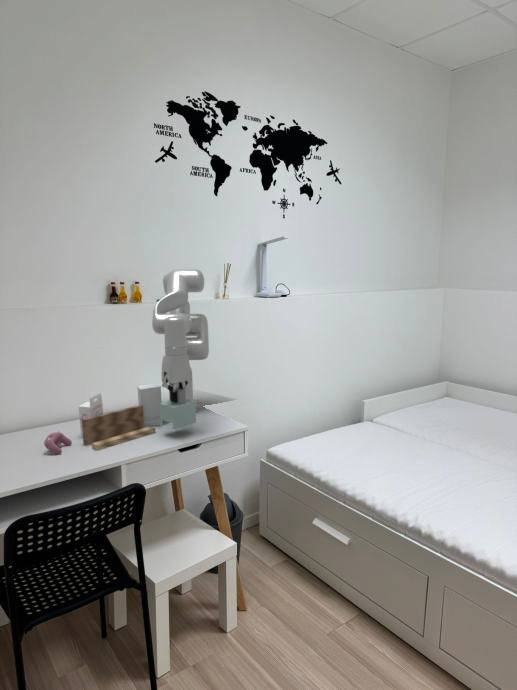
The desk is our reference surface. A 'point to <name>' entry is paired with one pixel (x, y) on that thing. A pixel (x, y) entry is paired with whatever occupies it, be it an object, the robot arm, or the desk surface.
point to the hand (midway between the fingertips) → (177, 400)
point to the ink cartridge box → (90, 409)
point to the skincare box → (150, 403)
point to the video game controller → (56, 442)
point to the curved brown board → (114, 427)
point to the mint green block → (178, 411)
